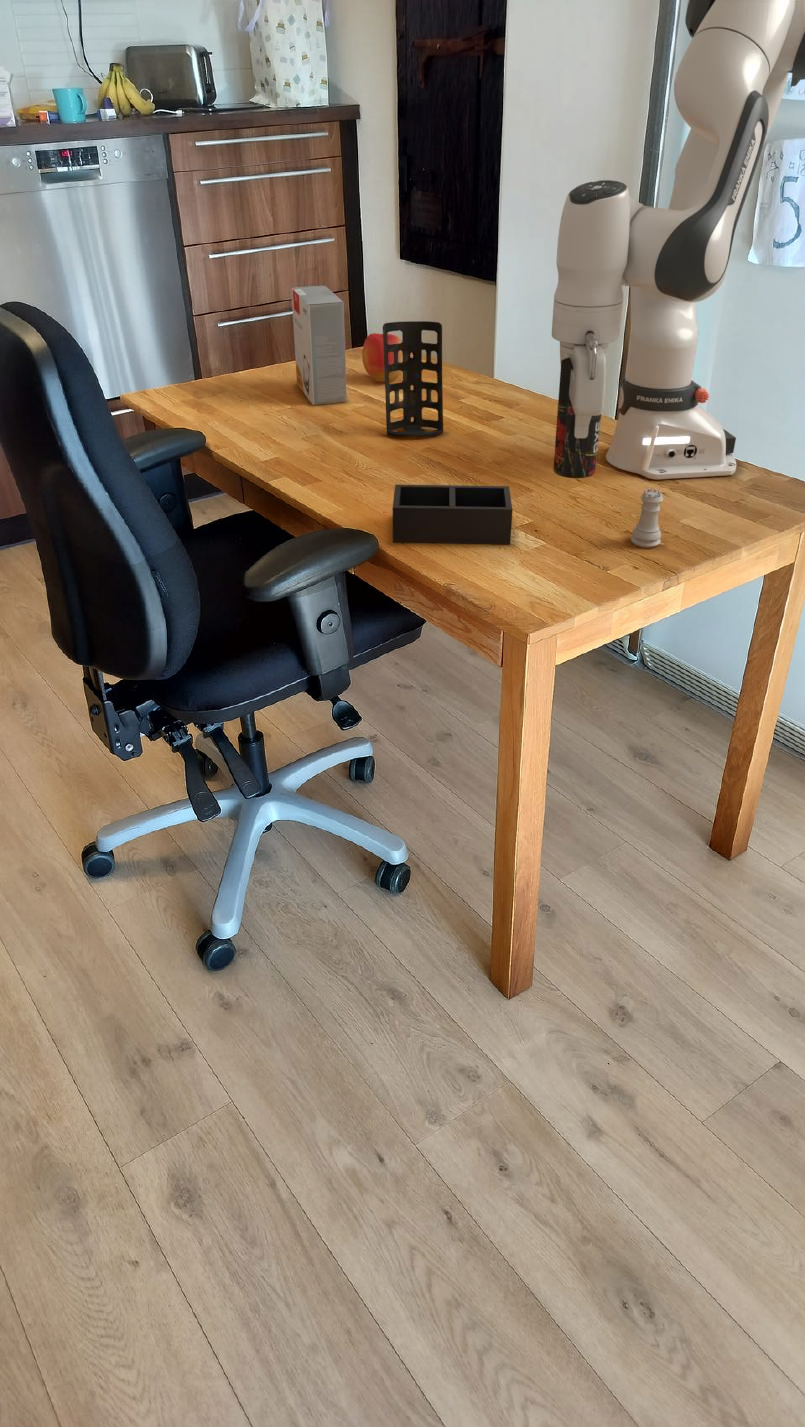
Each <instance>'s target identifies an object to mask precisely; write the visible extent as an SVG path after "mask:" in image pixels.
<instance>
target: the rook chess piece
mask: <svg viewBox="0 0 805 1427" xmlns="http://www.w3.org/2000/svg"><path fill="white" fill-rule="evenodd" d="M640 499H641V501H642V505H641V506H640V509H641V513H640V517H639V520H638V523H637V524H636V525H635V527H634V528H633V529H632V531H631V535H632V536H630V541H631V543H632V544H633V545H635V546H636V547H639V548H642V549H654V548H656V547H658V545H660V544H661V543H662V539H661V537H662V532H661V530H660V526H659V512H660V510H661V507H660V504H661V503H662V502H663V501H664V496H663V493H662V490H659V489H657V488H654V489H653V491H652V488H647V489H644V491H643V494H642V495H641V496H640Z"/></svg>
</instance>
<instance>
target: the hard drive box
mask: <svg viewBox="0 0 805 1427" xmlns="http://www.w3.org/2000/svg"><path fill="white" fill-rule="evenodd" d="M290 289H291V292H290V293H291V305H292V308H291V309H292V322H293V323H292V325H293V340H294V341H293V342H294V358H295V359H294V360H295V374H296V385H297V386H298V387H299V389H300V390H301V391H302V393H303V394H304V395H305V397H306V398H307V400H308V401H309V402H310V404H311V405H312V406H319V405H330V404H338V403H339V404H340V403H347V401H348V400H347V399H348V398H347V396H348V394H347V366H346V364H347V363H346V362H347V360H346V332H345V330H346V329H345V328H346V327H345V302H344V301H343V300H342V299H340V297H339V296H337V295H336V293H334V292H333V291H332V290H330V288H329V287H327V286H326V285H310V286H295V287H294V286H293V287H290Z"/></svg>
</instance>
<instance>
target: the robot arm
mask: <svg viewBox="0 0 805 1427" xmlns="http://www.w3.org/2000/svg"><path fill="white" fill-rule="evenodd" d="M684 21H685V22H684V23H685V27H686V29H687V32H688V35H689V37H691V38H692V39H691V41H690V42H689V44H688V46H687V48H686V50H685V52H684V54H683V56H682V58H681V60H680V62H679V65H678V66H677V67H678V68H677V71H676V74H675V78H674V83H673V95H674V100H675V105H676V108H677V110H678V112H679V114H680V115H681V117H682V119H683V120H684V122H685V123H686V124H687V125H688V127H689V128H690V130H689V132H688V134H687V137H686V138H685V142H684V143H683V147H682V149H681V151H680V154H679V156H678V159H677V161H676V164H675V168H674V181H673V187H672V192H671V197H670V201H669V205H668V208H661V207H654V206H649V205H644V204H643V203H641V202H638V201H636V200H635V199H633V198H632V196H630V191H629V187H628V185H627V184H626V183H624V182H621V181H619V180H612V179H604V180H602V179H601V180H595V181H589V182H585V183H582V184H579V185H577V186H576V187H574V188H572V189H571V190H570V191H569V192H568V193H567V196H566V198H565V202H564V205H563V207H562V213H561V217H560V223H559V229H558V238H557V248H556V262H555V263H556V270H557V279H558V280H557V285H556V288H555V292H554V295H553V305H552V306H553V308H552V320H551V321H552V323H551V338H552V339H554V340H556V341H558V342H559V359H560V360H559V361H560V364H561V361H562V360H563V359H565V358H569V357H570V359H571V362H572V365H573V370H572V369H571V378H570V388H569V397H570V401H571V404H572V407H573V410H574V413H575V422H574V436H575V437H576V438H586V437H587V436H588V428H589V423H590V420H591V417H592V416H598V415H600V414H601V415H602V413H603V410H604V405H605V391H606V378H607V377H606V376H607V357H606V356H607V355H606V353H608V351H609V348H610V344H611V343H613V342H616V341H617V340H619V339H620V335H621V334H620V333H621V325H622V316H623V315H622V314H623V305H624V292H623V286H625V287H629V288H630V333H629V334H630V335H629V343H628V352H627V360H626V367H625V368H626V369H625V375H624V376H623V378H622V380H621V386H620V389H619V397H618V406H617V407H618V412H619V413H618V419H617V421H616V425H615V429H614V433H613V436H612V440H611V442H610V445H609V448H608V450H607V452H606V454H605V460H606V461H607V462H608V463H609V464H610V465H612V466H613V467H615V468H617V469H619V470H622V471H625V472H630V473H633V474H638V475H641V476H643V477H645V478H647V479H650V480H656V481H657V480H673V479H675V480H676V479H688V478H705V477H708V478H709V477H724V476H732V475H734V474H735V473H736V471H737V461H736V458H735V457H734V455H733V454H734V452H735V446H736V441H737V437H736V436H734V435H733V434H731V433H730V432H729V431H727V430H726V429H724V428H723V426H722V425H721V424H720V423H719V421H717V420H716V419H715V418H714V417H713V416H712V415H711V414H710V413H709V412H708V411H707V410H706V409H705V408H704V407H702V406H701V405H700V404H705V403H707V401H709V399H710V393H708V391H707V390H706V389H705V388H704V387H703V388H702V386H701V385H700V384H698V383H697V382H695V381H694V380H692V379H693V373H694V367H695V361H696V354H697V349H698V342H699V326H698V321H697V303H699V302H702V301H704V300H707V299H708V298H710V297H711V296H712V295H714V294H715V293H716V292H717V291H718V289H719V288H720V287H721V286H722V284H723V283H724V280H725V278H726V275H727V272H728V265H729V262H730V258H731V252H732V247H733V242H734V237H735V232H736V229H737V227H738V226H737V225H738V223H739V220H740V216H741V214H742V211H743V207H744V205H745V202H746V200H747V196H748V193H749V190H750V187H751V185H752V181H753V179H754V176H755V172H756V170H757V166H758V164H759V160H760V158H761V154H762V151H763V148H764V145H765V143H766V140H767V138H768V136H769V134H770V132H771V129H772V126H773V125H774V122H775V119H776V116H777V114H778V111H779V108H780V106H781V102H782V99H783V96H784V93H785V91H786V90H785V89H786V86H787V83H788V80H789V75H790V74H791V82H790V87H796V86H798V84H799V83H800V82H801V81H803V80H805V0H687V3H686V12H685V20H684ZM589 378H590V379H593V378H594V379H593V380H590V379H589ZM699 403H700V404H699Z"/></svg>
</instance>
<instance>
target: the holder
mask: <svg viewBox="0 0 805 1427" xmlns="http://www.w3.org/2000/svg"><path fill="white" fill-rule="evenodd" d="M423 331H429V332H435V333H436V343H431V342H423V340H422V339H423V338H422V336H423V335H422V334H423ZM390 332H392V333H393V332H401V333H402V334H401V336H402V338H401V341H402V343H398V344H391V345H389V344H388V339H387V334H389V333H390ZM382 334H383V345H384V371H385V382H384V392H385V396H384V397H385V421H386V425H385V426H386V436H387V437H390V438H431V437H438V436H441V435H443V433H444V400H443V396H444V395H443V325H442V323H441V322H440V321H439V322H438V321H428V320H427V321H426V320H425V321H424V320H423V321H422V320H419V321H418V320H416V321H414V320H412V321H410V320H409V321H407V320H405V321H391V322H385V323H383V325H382ZM400 350H401V351H402V354H403V362H402V363H400V362H398V352H399V351H400ZM423 351H425V362H424V361H423V360H422V358H423V355H422V354H423ZM389 352H393V353H394V363H393V364H391V365H390V364H388V354H389ZM432 352H435V353H436V363H434V362H432ZM411 355H412V357H411ZM398 370H400V371H402V381H401V382H395V383H390V382H389V373H390V372H393V371H398ZM425 370H426V371H431V372H436V382H430V381H423V371H425ZM412 387H413V388H412ZM411 388H412V389H411ZM400 390H402V401H401V400H400ZM423 390H425V400H423ZM432 391H436V394H437V396H436V397H437V401H433V400H432ZM392 392H394V401H393V402H392V403H391V393H392ZM424 408H425V409H432V410H436V411H437V420H434V419H424V418H423V409H424ZM400 409H401V410H402V419H401V420H395V421H391V420H392V419H391V413H392V412H393V411H396V410H400ZM412 418H413V420H412ZM423 428H430V429H432V430H428V431H427V430H424V429H423ZM398 429H404V430H405V431H395V430H398ZM433 429H434V430H433Z"/></svg>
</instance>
